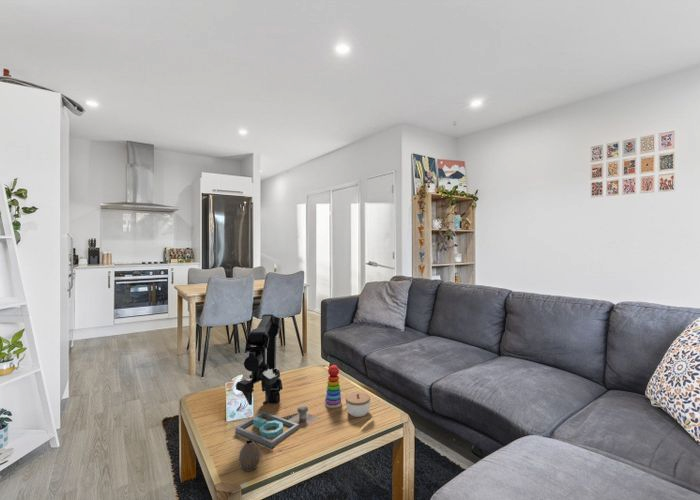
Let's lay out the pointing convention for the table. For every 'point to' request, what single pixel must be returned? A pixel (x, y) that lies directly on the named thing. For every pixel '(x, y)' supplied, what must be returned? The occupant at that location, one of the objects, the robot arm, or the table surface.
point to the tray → (262, 440)
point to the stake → (303, 417)
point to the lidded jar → (358, 403)
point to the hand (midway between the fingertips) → (259, 400)
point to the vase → (249, 456)
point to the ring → (264, 425)
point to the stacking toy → (333, 388)
